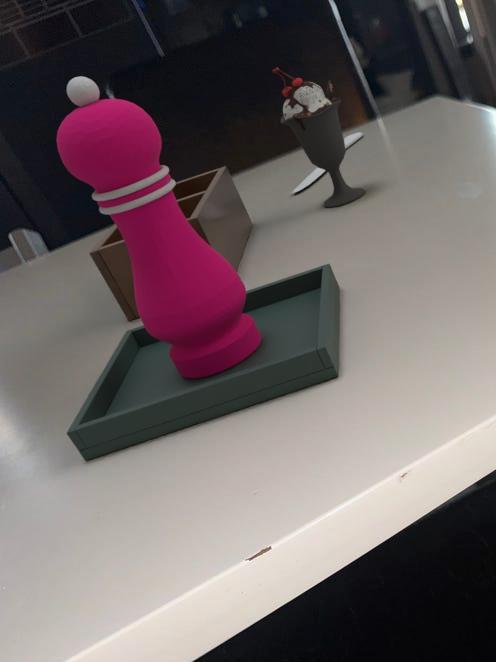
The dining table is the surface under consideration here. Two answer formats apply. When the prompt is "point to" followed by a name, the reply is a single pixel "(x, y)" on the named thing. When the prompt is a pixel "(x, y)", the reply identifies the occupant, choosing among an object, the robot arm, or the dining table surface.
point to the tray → (220, 389)
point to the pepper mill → (157, 235)
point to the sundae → (319, 132)
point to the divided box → (204, 217)
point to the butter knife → (317, 172)
